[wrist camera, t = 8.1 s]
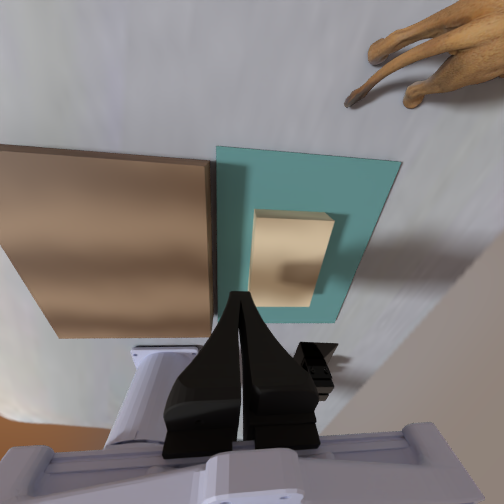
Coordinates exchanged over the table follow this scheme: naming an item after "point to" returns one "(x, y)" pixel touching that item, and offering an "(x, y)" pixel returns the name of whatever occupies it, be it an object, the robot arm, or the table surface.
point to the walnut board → (110, 240)
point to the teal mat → (298, 199)
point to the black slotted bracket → (317, 364)
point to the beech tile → (287, 256)
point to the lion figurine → (444, 50)
